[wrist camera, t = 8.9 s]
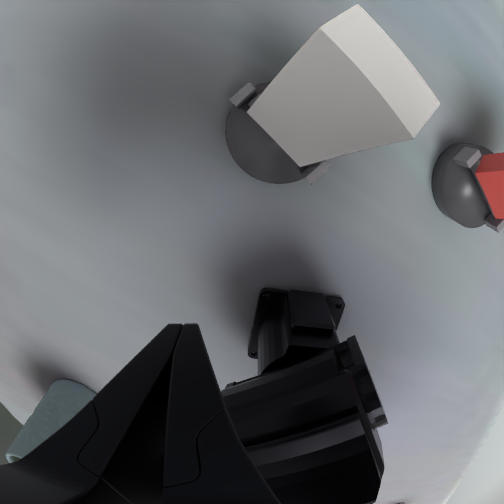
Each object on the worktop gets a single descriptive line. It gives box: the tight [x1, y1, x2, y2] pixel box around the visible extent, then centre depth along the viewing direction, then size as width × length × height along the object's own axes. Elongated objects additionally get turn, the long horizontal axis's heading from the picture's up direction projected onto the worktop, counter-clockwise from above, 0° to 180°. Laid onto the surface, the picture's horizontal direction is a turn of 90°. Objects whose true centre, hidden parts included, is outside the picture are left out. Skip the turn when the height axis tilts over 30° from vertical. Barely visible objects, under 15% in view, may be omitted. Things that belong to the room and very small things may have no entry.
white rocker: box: [247, 4, 440, 167], centre depth 12 cm, size 2×5×10 cm, turn 44°
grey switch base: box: [226, 82, 331, 185], centre depth 17 cm, size 6×6×4 cm
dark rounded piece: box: [432, 143, 504, 233], centre depth 17 cm, size 6×6×4 cm
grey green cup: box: [6, 379, 96, 463], centre depth 24 cm, size 10×10×12 cm
